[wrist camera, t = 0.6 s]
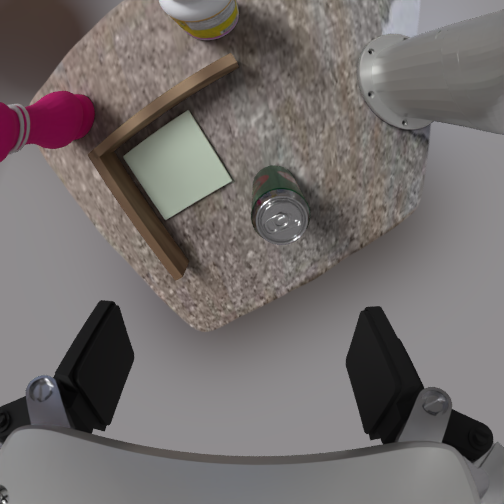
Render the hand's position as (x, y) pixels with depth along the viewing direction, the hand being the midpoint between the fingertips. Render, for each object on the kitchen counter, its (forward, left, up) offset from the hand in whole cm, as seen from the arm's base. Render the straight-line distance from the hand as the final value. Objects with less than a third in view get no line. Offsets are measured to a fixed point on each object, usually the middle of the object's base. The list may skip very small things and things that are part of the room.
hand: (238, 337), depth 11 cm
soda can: (-2, +2, -26) cm, 27 cm away
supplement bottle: (-6, -20, -26) cm, 34 cm away
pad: (+7, -6, -26) cm, 28 cm away
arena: (+4, -4, -26) cm, 27 cm away
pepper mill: (+15, -20, -26) cm, 36 cm away
